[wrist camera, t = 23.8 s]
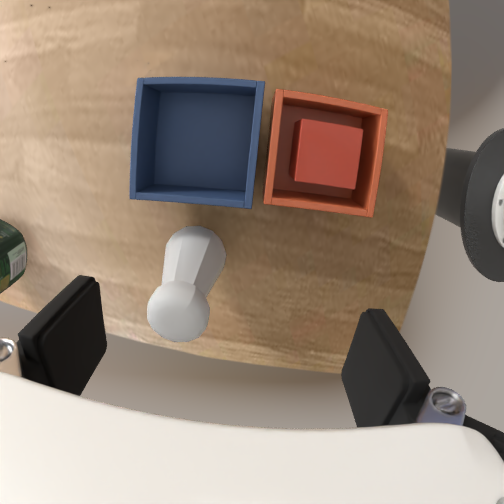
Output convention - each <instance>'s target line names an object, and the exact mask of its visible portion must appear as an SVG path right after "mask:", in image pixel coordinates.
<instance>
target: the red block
mask: <svg viewBox="0 0 504 504" xmlns="http://www.w3.org/2000/svg"><path fill="white" fill-rule="evenodd" d="M362 136H363V129H359V128H354V127H349V126H344V125H339V124H333V123H327V122H322V121H315V120H309V119H301V120H298V121H296V122H294V131H293V139H292V148H291V157H290V165H289V173H288V174H289V175H290V176H291V177H292V178H293V179H294V181H297V182H305V183H313V184H320V185H327V186H334V187H341V188H347V189H354V190H355V187H356V180H357V173H358V167H359V159H360V152H361V144H362Z"/></svg>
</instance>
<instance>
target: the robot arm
mask: <svg viewBox="0 0 504 504" xmlns="http://www.w3.org/2000/svg"><path fill="white" fill-rule="evenodd" d="M492 227H493V231H494V235H495V237H496V239H497V241H498V243H499V244H500V245H501V246H502V247H503V248H504V175H503V176H502V177H501V179H500V181H499V183H498V185H497V188H496V191H495V194H494V198H493V204H492ZM18 336H19V341H18V342H17V343H16V342H15V341H14V340H12V339H10V338H6V337H0V504H504V433H503V432H501V431H499V430H496V429H495V428H492V427H490V426H488V425H486V424H484V423H482V422H479V421H477V420H475V419H473V418H471V417H468V416H467V415H465V413H466V404H465V401H464V399H463V398H462V397H461V396H460V395H459V394H458V393H457V392H455V391H454V390H452V389H449V388H445V387H436V388H433V389H432V390H431V389H430V387H429V383H430V379H429V378H428V376H427V375H426V373H425V372H424V370H423V368H422V367H421V365H420V363H419V362H418V360H417V359H416V357H415V356H414V354H413V353H412V351H411V349H410V348H409V346H408V345H407V343H406V342H405V340H404V339H403V337H402V336H401V334H400V333H399V331H398V330H397V328H396V327H395V325H394V324H393V322H392V321H391V319H390V318H389V316H388V315H387V314H386V312H385V311H384V310H383V309H370V308H369V309H367V310H366V312H363V313H362V314H361V316H360V319H359V322H358V325H357V328H356V331H355V334H354V337H353V340H352V343H351V346H350V349H349V352H348V355H347V358H346V361H345V363H344V366H343V369H342V381H343V384H344V387H345V390H346V393H347V396H348V399H349V402H350V406H351V409H352V412H353V415H354V418H355V422H356V425H357V428H336V429H287V428H265V427H264V428H263V427H249V426H236V425H226V424H217V423H209V422H200V421H193V420H187V419H180V418H174V417H168V416H162V415H157V414H152V413H146V412H141V411H137V410H132V409H128V408H123V407H119V406H115V405H111V404H107V403H103V402H99V401H95V400H92V399H88V398H84V397H81V396H80V395H81V393H82V391H83V390H84V388H85V386H86V384H87V383H88V381H89V379H90V377H91V376H92V374H93V372H94V370H95V369H96V367H97V365H98V364H99V362H100V360H101V359H102V357H103V355H104V354H105V352H106V347H107V341H106V334H105V328H104V320H103V312H102V304H101V295H100V286H99V283H98V282H96V281H95V278H94V277H88V276H82V275H79V276H77V277H76V278H75V279H74V280H73V281H72V282H71V283H70V284H69V285H67V286H66V287H65V288H64V289H63V290H62V291H61V292H60V293H59V294H58V295H57V296H56V297H55V298H54V299H53V300H52V301H50V302H49V303H48V304H47V305H46V306H45V307H44V308H43V309H42V310H41V311H40V312H39V313H38V314H37V315H36V316H35V317H34V318H33V319H32V320H31V321H30V322H29V323H28V324H27V325H26V326H25V327H24V329H22V330H21V331H20V332H19V333H18Z"/></svg>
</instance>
